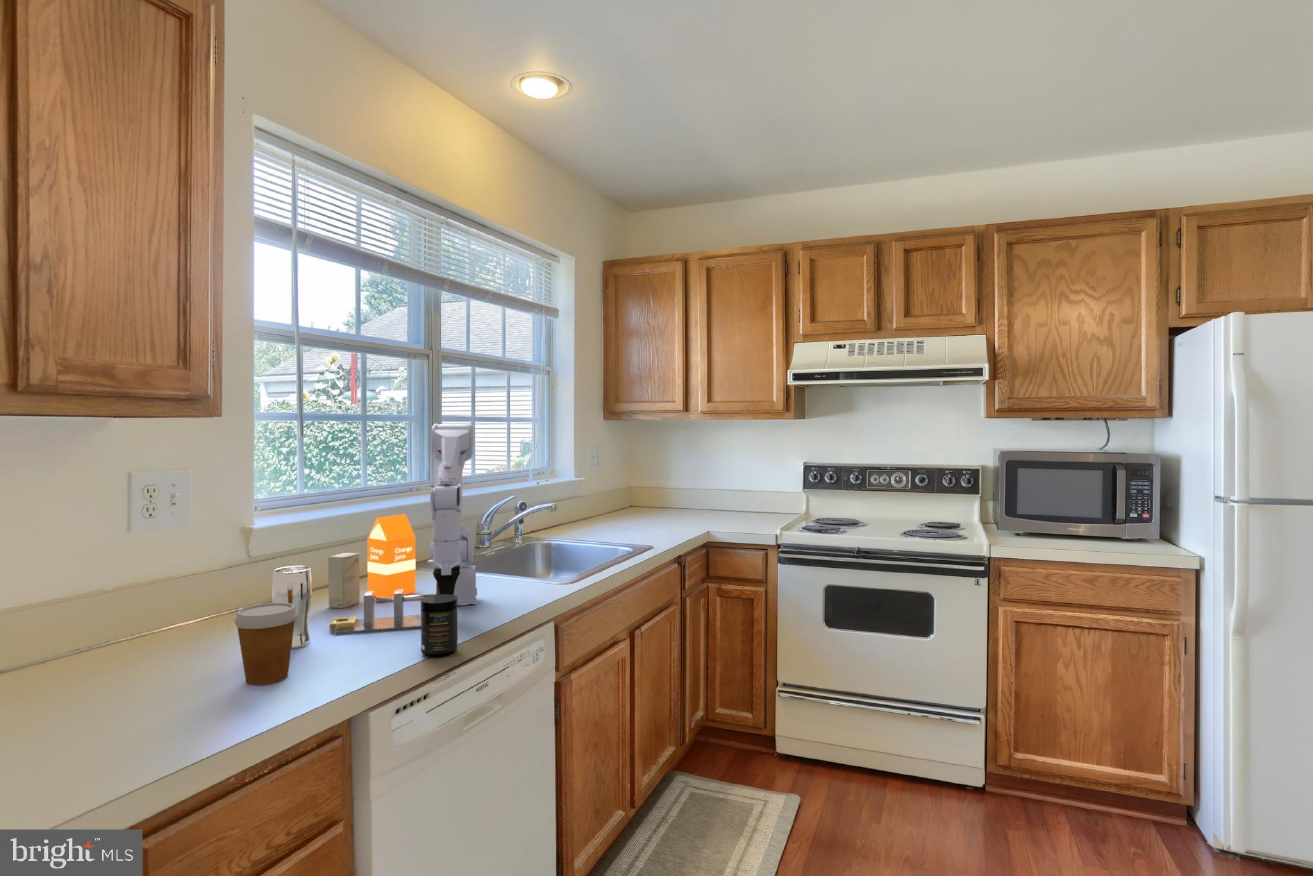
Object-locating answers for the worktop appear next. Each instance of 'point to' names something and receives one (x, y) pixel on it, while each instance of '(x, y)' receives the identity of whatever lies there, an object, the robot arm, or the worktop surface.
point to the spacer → (343, 623)
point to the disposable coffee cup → (266, 641)
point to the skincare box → (343, 580)
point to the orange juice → (391, 556)
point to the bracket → (383, 618)
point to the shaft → (406, 597)
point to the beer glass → (295, 598)
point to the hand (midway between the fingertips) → (447, 601)
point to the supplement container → (439, 625)
